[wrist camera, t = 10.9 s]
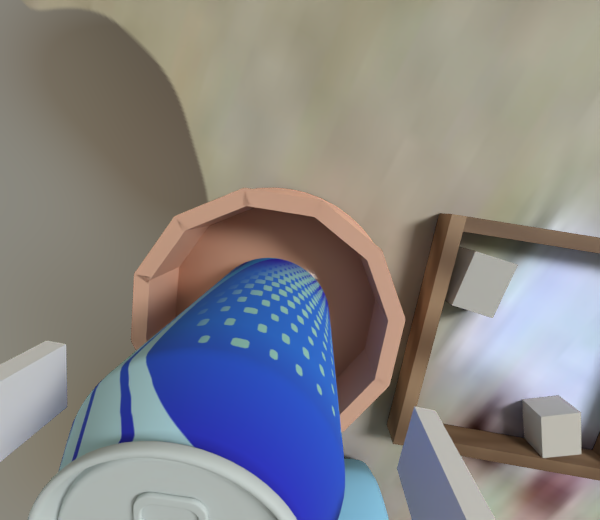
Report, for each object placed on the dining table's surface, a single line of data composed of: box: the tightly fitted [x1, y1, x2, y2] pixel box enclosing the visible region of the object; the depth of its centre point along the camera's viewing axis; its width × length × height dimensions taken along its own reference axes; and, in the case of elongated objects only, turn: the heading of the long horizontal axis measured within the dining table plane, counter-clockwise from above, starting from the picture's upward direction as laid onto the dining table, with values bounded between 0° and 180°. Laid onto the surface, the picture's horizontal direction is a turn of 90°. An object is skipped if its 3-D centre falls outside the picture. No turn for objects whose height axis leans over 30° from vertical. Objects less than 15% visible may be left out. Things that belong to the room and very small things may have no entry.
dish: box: [131, 188, 405, 433], centre depth 21 cm, size 18×18×5 cm
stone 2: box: [522, 395, 581, 458], centre depth 23 cm, size 4×3×2 cm
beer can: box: [28, 258, 345, 520], centre depth 14 cm, size 8×8×16 cm
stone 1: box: [445, 247, 518, 318], centre depth 21 cm, size 4×3×2 cm
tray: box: [387, 213, 600, 480], centre depth 22 cm, size 18×18×2 cm
